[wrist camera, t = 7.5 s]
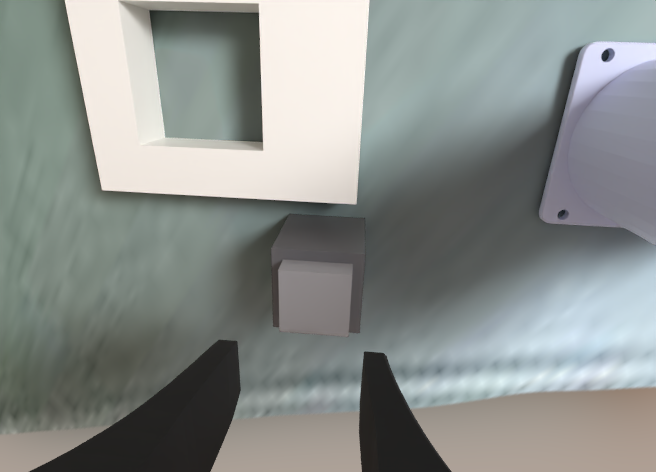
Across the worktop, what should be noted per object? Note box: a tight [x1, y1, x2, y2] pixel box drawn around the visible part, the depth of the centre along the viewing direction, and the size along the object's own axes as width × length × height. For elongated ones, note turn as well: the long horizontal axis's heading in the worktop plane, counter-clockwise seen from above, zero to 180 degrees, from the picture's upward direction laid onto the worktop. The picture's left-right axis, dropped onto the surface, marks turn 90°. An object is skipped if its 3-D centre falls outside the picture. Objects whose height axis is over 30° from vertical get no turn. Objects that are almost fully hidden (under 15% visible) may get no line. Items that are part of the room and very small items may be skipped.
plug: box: [271, 214, 365, 337], centre depth 19 cm, size 4×4×6 cm
